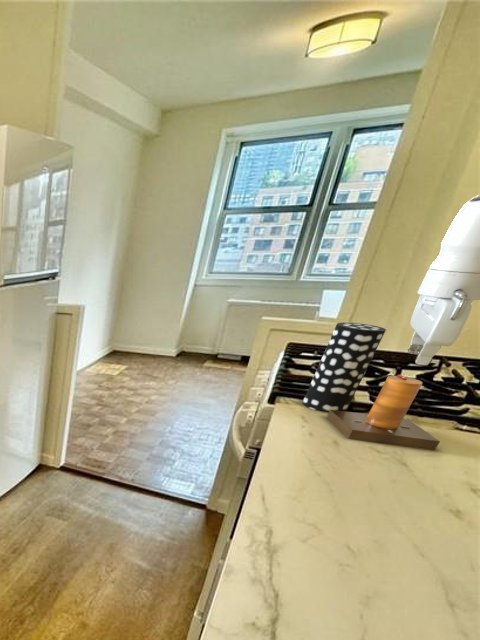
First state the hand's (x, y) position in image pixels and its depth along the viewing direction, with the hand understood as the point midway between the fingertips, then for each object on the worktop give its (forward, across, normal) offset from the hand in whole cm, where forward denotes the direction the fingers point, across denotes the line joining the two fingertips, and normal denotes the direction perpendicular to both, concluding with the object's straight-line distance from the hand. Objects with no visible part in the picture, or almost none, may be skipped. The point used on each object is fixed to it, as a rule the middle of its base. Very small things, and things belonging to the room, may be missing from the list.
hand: (416, 358), depth 97 cm
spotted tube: (+17, +12, +9) cm, 23 cm away
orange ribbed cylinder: (+14, 0, 0) cm, 14 cm away
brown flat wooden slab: (+17, 0, 0) cm, 17 cm away
